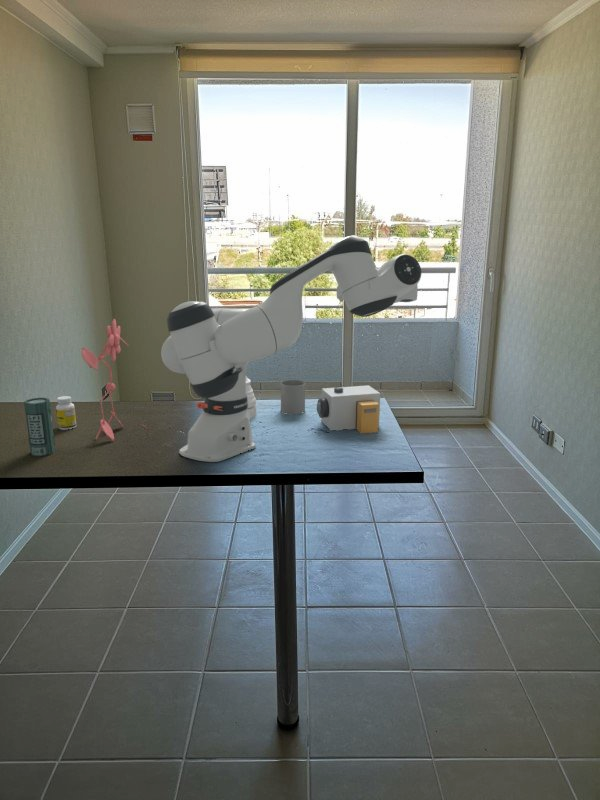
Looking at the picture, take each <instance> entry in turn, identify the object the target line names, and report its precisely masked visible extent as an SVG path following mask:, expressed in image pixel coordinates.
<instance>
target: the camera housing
mask: <svg viewBox="0 0 600 800" xmlns="http://www.w3.org/2000/svg"><path fill="white" fill-rule="evenodd" d="M362 401H375V402H377V403H378V404H379V417H378V428H379V427H380V413H381V408H380V407H381V392H379V391H378V390H376V389H375V388H373V387H372V386H371V385H358V386H357V385H355V386H340V387H327V388H325V387H323V388H321V398H318V400H317V403H316V412H317V414H318V417H319V418H320V421H321V423H322V424H325V425H326V426H327V427H328V428H329V429H330V430H336V431H344V430H343V429H348V430H357V402H362ZM325 425H324V426H325ZM326 426H325V427H326ZM327 427H326V428H327ZM328 428H327V429H328ZM329 429H328V430H329ZM330 430H329V431H330Z"/></svg>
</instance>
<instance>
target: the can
mask: <svg viewBox="0 0 600 800" xmlns="http://www.w3.org/2000/svg"><path fill="white" fill-rule="evenodd" d="M23 403H24V404H23V405H24V410H25V411H24V412H25V420H26V426H27V434H28V435H27V436H28V442H29V449H30V455H31V456H34V457H46V456H49V455H50V456H51V454H52V455H53V454H54V453H55V452H56V443H55V434H54V427H53V425H54V424H53V419H52V411H51V401H50V398H48V397H33V398H29V399H26V400H24V401H23Z"/></svg>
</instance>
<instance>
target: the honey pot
mask: <svg viewBox="0 0 600 800" xmlns="http://www.w3.org/2000/svg"><path fill="white" fill-rule="evenodd" d="M251 381H252V380H251V379H250V378H248V376H247V375H246V395H247V400H248V407H247V409H246V410H247V414H248V416H249V418H250V420H251V419H254V418H255V417H256V416H257V398H256V397H255V393H254V392H253V391H254V390H253V388H252V386H251V383H252V382H251Z"/></svg>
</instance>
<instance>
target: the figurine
mask: <svg viewBox="0 0 600 800" xmlns="http://www.w3.org/2000/svg"><path fill="white" fill-rule="evenodd" d="M106 335H107V340H106V343H105V344H104V347H103V349H102V350H101V353H100V354H99V355H98V356H96V355H95V353H94V352H92V351H91V350H90V349H88V348H85V347H82V348H81V357H82V358H83V361H84V362H85V363H86V364H87V365H88V366H89V368H90V369H92V368H93V370H95V371H97V370H98V367H99V361H98V360H100V361H101V362H102V363H103V364H104V365H105V366H106V367H107V368H108V370H109V379H110V382H108V383H107V384H106V385H105V391H107V392H106V393H105V394H104V395H103V397H101V399H100V400H99V403H100V408H101V415H102V419H100V421H99V424H100V427H99V430H98V431H97V434H96V436H95V438H94V439H95V440H98V438H99V436H100V434H101V432H104V434H105V435H106V436H107V437H108V438H109V439H110V440H111V441H112V442H113V441H115V434H114V432H113V429H112V427H111V425H110V423H111V421H112V420H113V417H114V418H115V419H116V420H117V421H118V423H119V424H120V425H121V427H122V428H125V425H123V423H121V421H120V420H119V418H118V417H117V416H116V413H115V408H114V404H113V399H112V392H114V391H115V390H116V385H115V384H114V383H113V372H112V369H113V368H112V367H111V365H109V364H108V363H107V362H106V361H105V360H103V358H105V357H109V356H110V359H111V362H112V363H115V361H116V360H117V355H119V354H120V353H121V351H122V349H121V345H120V341H122V342H123V343H124V344H125V345H126V346H127V347H129V346H130V345H129V344H128V343H127V342H126V341H125V340H124V339H123V338H122V337H121V326H120V325H118V326H117V319H115V318H113V320H112V321H111V325H107V326H106ZM103 354H104V355H103ZM108 394H109V398H110V402H111V408H112V410H111V411H110V413H111V415H110V418H109V419H108V422H107V421H106V420H105V415H104V409H103V400H104V398H105V397H106V396H107V395H108ZM139 425H141V426H143V427H145V428H146V429H147V430H149V427H147V426H145V425H144V424H141V423H140V424H139ZM147 435H148V433H146V434H144V436H142V437H140V438H139V439H138V440H140V439H143V438H144V437H146V436H147ZM85 446H87V444H85ZM89 446H92V445H91V444H89Z"/></svg>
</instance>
